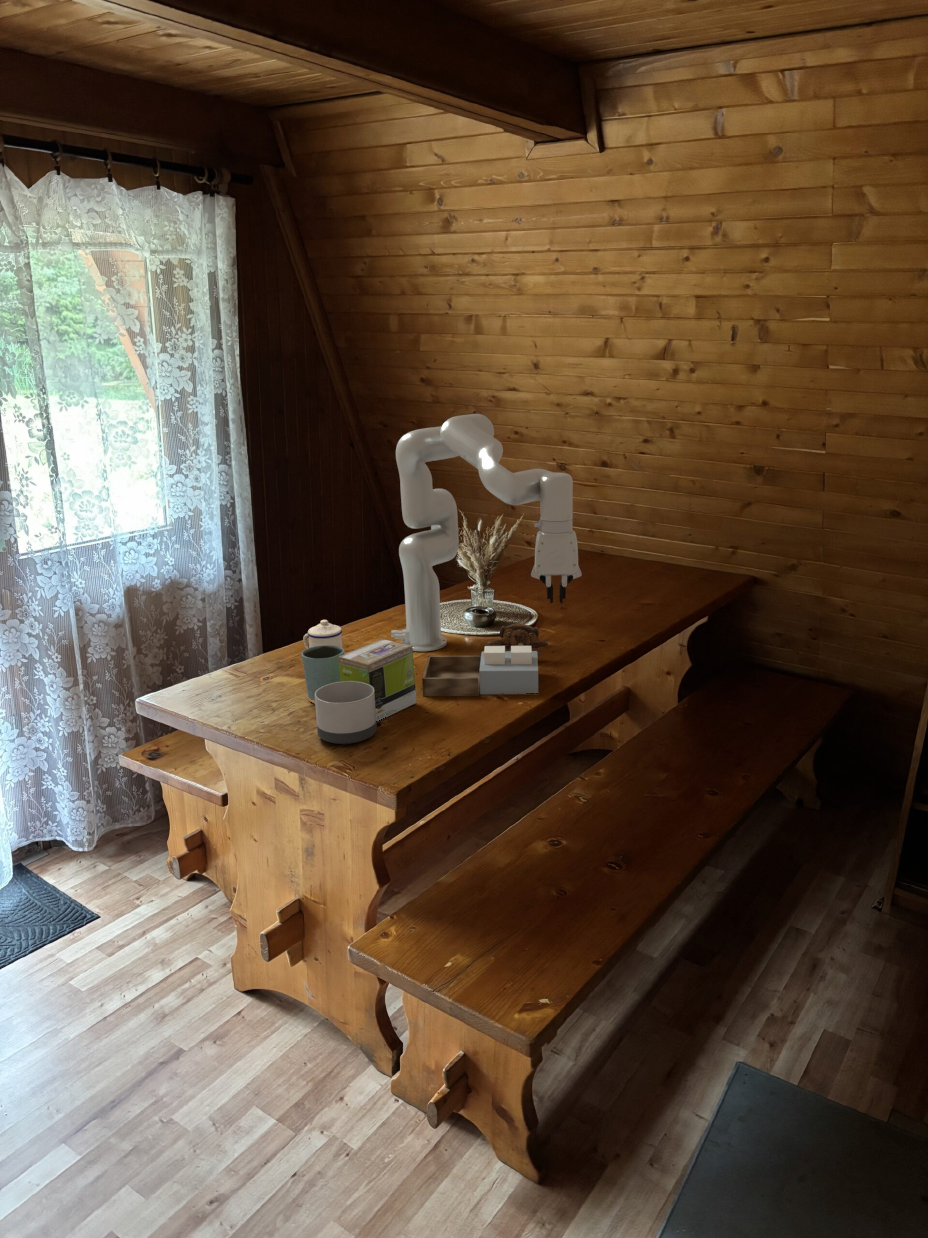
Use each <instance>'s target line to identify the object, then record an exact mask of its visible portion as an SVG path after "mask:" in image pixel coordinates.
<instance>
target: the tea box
mask: <svg viewBox="0 0 928 1238" xmlns="http://www.w3.org/2000/svg"><path fill="white" fill-rule="evenodd" d="M339 669H340V680H341V682H344V681H356V682H363V683H367V684H369V685H371V686H372V687H373V688H374V690H375V707H376V721H377V722H380V721H382V720H384V719H386V718H388V717H389V716H392V715H394V714H395V713H398V712H400V711H403V710H404V709H407V708H409V707H410V706H412V705H415V704H417V701H418V700H417V690H416V673H415V662H414V651H413V647H412V646H410V645H406V644H402V642H401V643H400V642H396V641H392V640H387V639H384V638H381V639H379V640H377V641H375V642H372V643H370V644H367V645H364V646H362V647H358V648H357V649H354V650H352V651H350V652H349V651H348V652H346V653H344V655H342V656H339ZM385 717H386V718H385ZM383 718H384V719H383ZM381 719H382V720H381ZM379 720H380V721H379Z"/></svg>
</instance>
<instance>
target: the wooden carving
mask: <svg viewBox="0 0 928 1238" xmlns="http://www.w3.org/2000/svg"><path fill="white" fill-rule="evenodd" d="M539 636H540V632H539V629H538V627H537V626H536V627H535V626H534V627H532V626H530V625H528V624H524V623H513V624H509V625H507V626H505V625H502V626H501V629H500V630H499V637H500V638H501V639H492V640H490V641H488V642H486V645H485V646H505V651H511V646H531V650H532V651H537V657H538V658H539V657H540V656H542V655H543V651H542V650H541V649H540V648H545V647H548V646H549V644H550V643H549V642H548V641H540V639H539Z"/></svg>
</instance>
